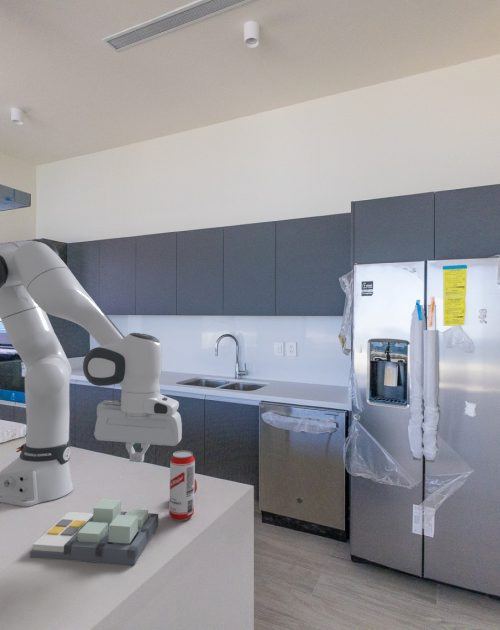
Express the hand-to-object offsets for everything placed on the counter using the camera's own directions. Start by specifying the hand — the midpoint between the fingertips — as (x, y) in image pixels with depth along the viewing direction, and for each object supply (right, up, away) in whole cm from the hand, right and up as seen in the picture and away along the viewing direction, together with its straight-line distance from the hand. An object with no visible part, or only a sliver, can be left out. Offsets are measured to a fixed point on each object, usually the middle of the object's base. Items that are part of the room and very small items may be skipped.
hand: (136, 461), depth 92 cm
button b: (-7, -14, 0) cm, 15 cm away
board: (-8, -17, -3) cm, 19 cm away
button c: (-1, -14, -7) cm, 16 cm away
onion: (+9, -18, +17) cm, 26 cm away
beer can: (+9, -17, +8) cm, 21 cm away
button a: (-8, -15, -7) cm, 19 cm away
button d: (0, -16, -1) cm, 16 cm away
